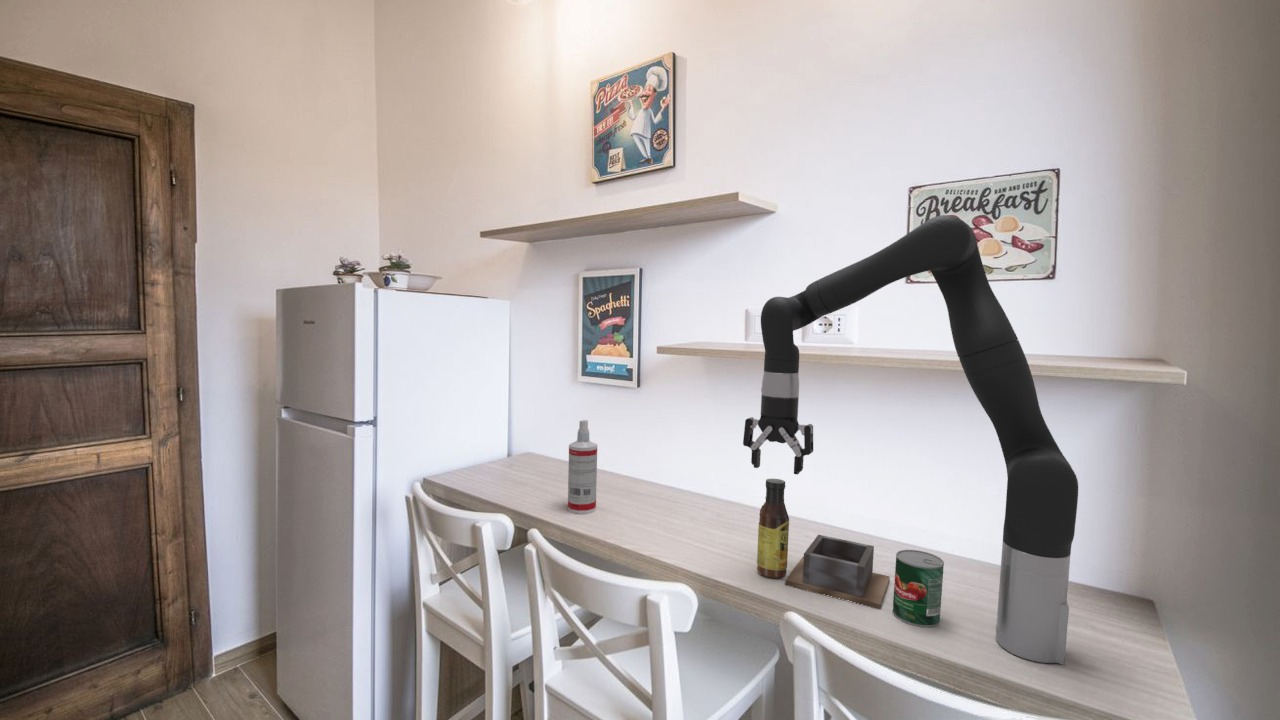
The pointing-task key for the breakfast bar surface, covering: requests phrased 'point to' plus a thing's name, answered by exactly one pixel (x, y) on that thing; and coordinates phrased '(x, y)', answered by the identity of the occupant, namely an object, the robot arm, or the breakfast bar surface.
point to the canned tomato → (918, 588)
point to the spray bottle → (582, 473)
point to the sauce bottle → (773, 532)
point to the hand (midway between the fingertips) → (776, 470)
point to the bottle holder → (840, 571)
